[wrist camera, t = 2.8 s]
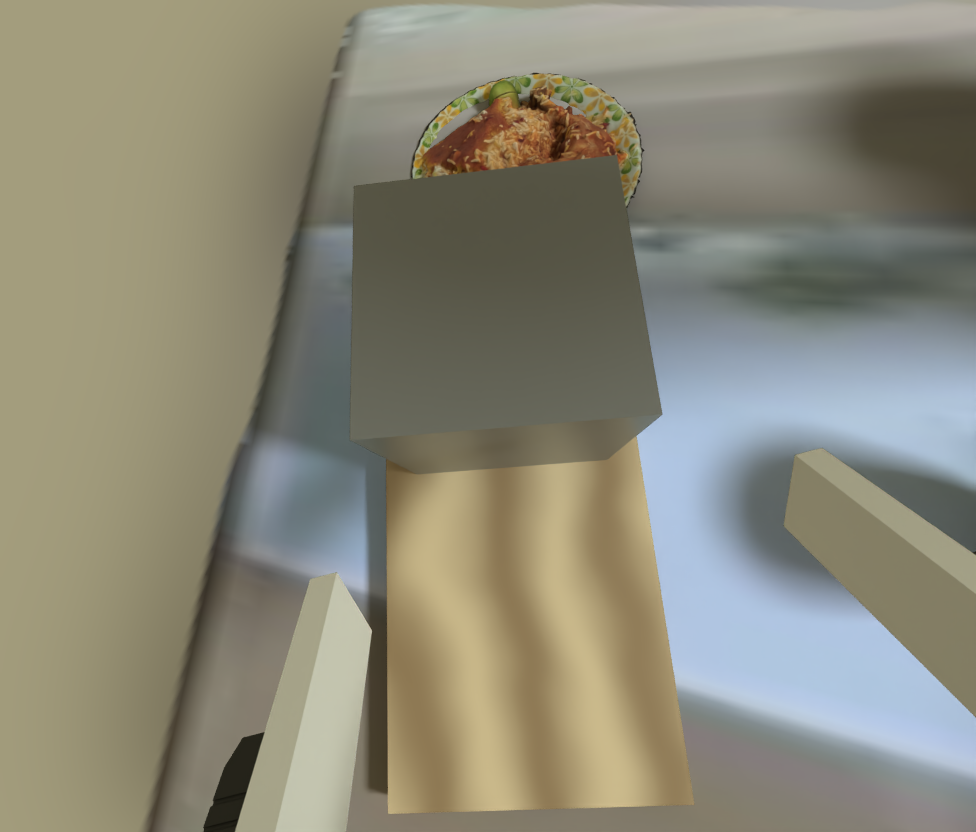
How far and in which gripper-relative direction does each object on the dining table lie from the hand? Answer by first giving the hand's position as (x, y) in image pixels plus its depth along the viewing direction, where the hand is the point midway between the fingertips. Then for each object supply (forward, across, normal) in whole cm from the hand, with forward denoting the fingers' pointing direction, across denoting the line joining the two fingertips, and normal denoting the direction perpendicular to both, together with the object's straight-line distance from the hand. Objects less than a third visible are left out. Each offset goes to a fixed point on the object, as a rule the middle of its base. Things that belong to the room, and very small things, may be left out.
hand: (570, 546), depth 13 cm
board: (+13, -1, -9) cm, 16 cm away
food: (+31, +6, +8) cm, 33 cm away
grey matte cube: (+17, 0, -2) cm, 18 cm away
